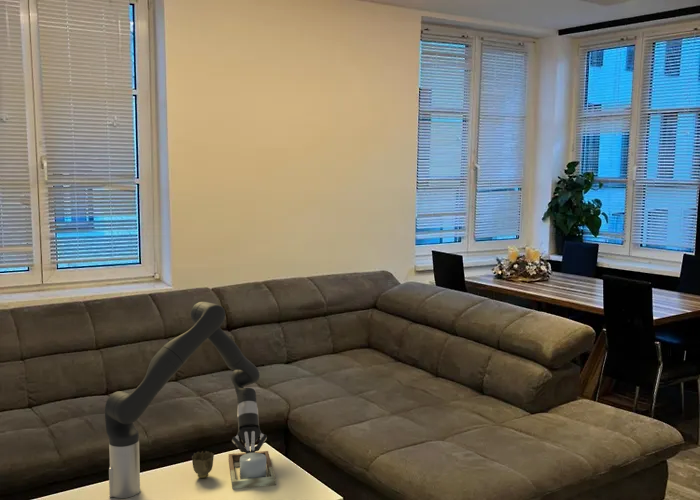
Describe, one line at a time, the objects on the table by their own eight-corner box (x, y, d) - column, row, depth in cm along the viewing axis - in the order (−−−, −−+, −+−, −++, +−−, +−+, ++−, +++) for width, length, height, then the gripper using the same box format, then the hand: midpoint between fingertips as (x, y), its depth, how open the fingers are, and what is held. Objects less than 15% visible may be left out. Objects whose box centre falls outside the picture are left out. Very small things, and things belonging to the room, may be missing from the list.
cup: (208, 483, 228) (208, 460, 227) (188, 480, 230) (188, 458, 229) (217, 473, 236) (217, 451, 235) (197, 471, 237) (197, 449, 236)
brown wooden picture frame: (232, 488, 224) (232, 481, 224) (228, 460, 246) (228, 454, 246) (275, 484, 227) (275, 477, 227) (268, 457, 250) (267, 450, 249)
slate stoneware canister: (243, 486, 226) (243, 465, 225) (237, 475, 234) (237, 454, 233) (269, 482, 229) (269, 461, 228) (262, 471, 238) (262, 451, 237)
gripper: (230, 413, 242) (232, 460, 232) (266, 410, 245) (270, 456, 235) (229, 422, 248) (231, 468, 237) (265, 419, 251) (269, 464, 241)
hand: (251, 462), depth 236 cm, fingers closed
